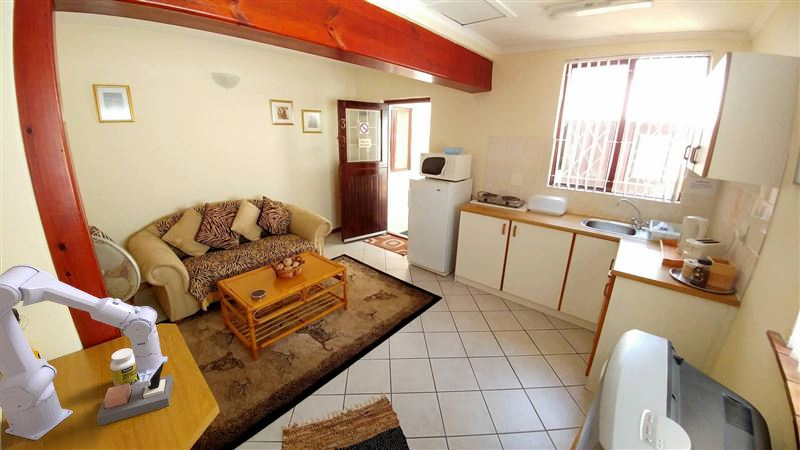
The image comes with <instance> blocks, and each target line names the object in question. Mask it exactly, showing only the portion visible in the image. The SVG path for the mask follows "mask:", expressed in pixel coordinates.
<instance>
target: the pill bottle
mask: <svg viewBox="0 0 800 450" xmlns="http://www.w3.org/2000/svg"><path fill="white" fill-rule="evenodd" d="M110 358H111V362H110V363H109V368H110V373H111V377H112V381H113V385H114V386H113V387H115V386H119V385H123V384H128V383H130V385H133V384H137V383H139V381H140V380H138V379H137V371H136V368H135V366H136V363H135V359H134V354H133V350H132V348H128V347H126V348H125V347H124V348H120V349H118V350H116V351H115V352H113V353H112V355H111V357H110Z"/></svg>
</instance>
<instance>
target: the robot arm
mask: <svg viewBox="0 0 800 450" xmlns="http://www.w3.org/2000/svg"><path fill="white" fill-rule="evenodd" d="M47 301H48V302H51V303H55V304H59V305H62V306H65V307H70V308H73V309H77V310H80V311H84V312H88V313H89V315H90V318H91V319H92V320H95V321H97V322H101V323H103V324H106V325H110V326H112V327H115V328H118V329H120V330H122V332H123V334H124V336H126V337H127V338H129V340H130V345H131V349H132V351H133V354H134V359H135V363H136V366H135V368H136V371H137V379H138V380H140V381H139V382H138V383H139V384H140V388H143V387H148V388H149V389H150V390H151V389H155V388H158V387H159V384H160V378H161V374H162V372H163V368H164V365H165V364H166V363H168V359H169V358H168V356H167V355H165V356H163V354H162V351H161V349H162V348H161V343H160V338H159V333H158V329H157V326H156V321H157V318H158V312H157V311H156V309H155V308H153V307H151V306H146V305H144V306H137V305H136V306H134V305H131V304H128V303H127V302H123V301H122V299H120V298H117V297H116V298H113V297H104V298H98V297H96V296H93V295H92V294H89V293H87V292H85V291H83V290H81V289H78V288H76V287H74V286H72V285H70V284H67V283H65V282H63V281H61V280H58V279H57V278H55V277H54V275H52V273H50V272H49V271H46V270H42V269H40V268H38V267H37V266H34V265H29V264H18V265H14V266H11V267H10V268H8V269H7V270H5V271H4V272H2V273H1V274H0V373H1V375H2V377H1V379H0V409H2V411H3V415H4V417H5V420H6V421H7V424H8V428H7V429H5V433H6V434H10V435H13V436H17V437H21V438H25V439H28V440H29V439H30V440H33V441H38V440H40V439H41V438H42V437H43V436H45V435H46V434H47V433H49V432H50V431H51V430H53V429H54V428H55V427H56V426H57V425H59V424H60V423H62V422H63V421H64V420H66V419H67V418H69V417H70V416H71V415H72V414H73V413H74V411H73V410H71V409H67V408H62V406H61V403H60V401H59V397H58V394H57V391H56V389H55V386H54V381H53V380H54V379H55V378H56V376H57V374H58V371H57V369H56V368H55V366H53V365H52V364H49V362H48V361H47V360H46V358H37V357H36V356H35V353H34V352H33V349H32V347H31V346H30V343H29V342H28V339H27V337H26V335H25V333H24V332H23V329H22V328H21V326H20V324H19V321H18V320H17V317H16V315H15V314H14V312H13V310H12V308H13V307H15V306H16V305H18V304H19V303H20V302H22V307H26V306H30V305H36V304H38V303H42V302H47Z"/></svg>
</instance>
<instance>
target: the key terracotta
mask: <svg viewBox="0 0 800 450" xmlns="http://www.w3.org/2000/svg"><path fill="white" fill-rule="evenodd" d="M107 391H108V392H107ZM107 391H106V393H107V394H106V393H105V395H106V397H105V396H104V398H105V399H103V400H104V403H105V407H106V409H109V408H113V407H117V406H120V405H124V404H128V401H129V398H130V394H131V388H130V383H128V384H123V385H119V386H112V387H108V389H107Z"/></svg>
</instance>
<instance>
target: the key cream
mask: <svg viewBox="0 0 800 450" xmlns="http://www.w3.org/2000/svg"><path fill="white" fill-rule="evenodd" d="M165 388H166V381H165V379H163V380H160V384H159V387H158V388H155V389H151V390H150V389H149V388H148V387H145V391H144V394H143V397H144V399H146V398H150V397H154V396H157V395H161V394H164V393H165Z"/></svg>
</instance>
